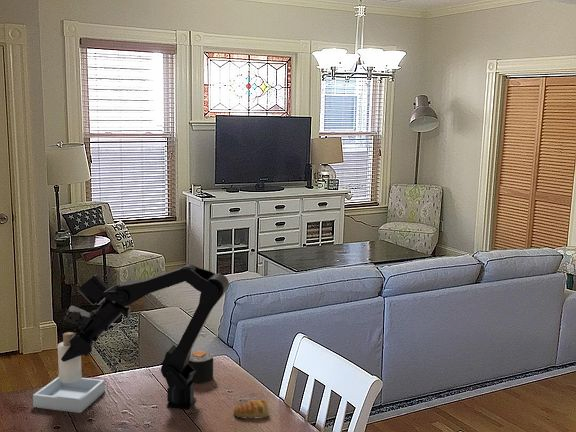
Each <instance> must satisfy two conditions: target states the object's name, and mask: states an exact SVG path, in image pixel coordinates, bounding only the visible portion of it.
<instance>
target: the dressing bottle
mask: <svg viewBox="0 0 576 432" xmlns="http://www.w3.org/2000/svg"><path fill="white" fill-rule="evenodd" d="M74 334H75V332H71V331H67V332H64V333H62V341H61V342H60V343H58V344H57V361H58V365H57V366H58V377H59V381H60V382H62V383H73V382H77V381H79V380H80V379H81V378H83V376H82V375H83V373H82V372H83V371H82V355H81V356H78V357H75V358H73V359H70V360H67V361H65V362H63V361H62V360H61V358H62V357H63V355H64V354H65V352H66V351H67V350H68V348H69V347H70V345H71V344H70V342H69V341H70V338H71V336H73V335H74Z"/></svg>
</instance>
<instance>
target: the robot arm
mask: <svg viewBox="0 0 576 432" xmlns="http://www.w3.org/2000/svg"><path fill="white" fill-rule="evenodd" d="M184 282H185V283H187V284H189V285H190V286H191V287H193V289H195V290H196V291H198V292H200V295H199V299H198V301H199V302H198V305H197V307H196V309H195V311H194V313H193V315H192V317H191V319H190V321H189V323H188V325H187V326H186V329H185V331H184V332H183V334H182V336H181V339H180V340H179V342H178V345H177V346H176V345H175V344H172V346H171V347H170V348H169V349H168V350H167V351H166V353H165V356H164V358H163V360H162V361H161V362H160V364H159V365H160V366H161V368H160V373H161V375H162V376H163V378H164V379H165V381H166V384H167V388H166V392H167V393H166V401H167V402H168V403H167V404H166V407H168V408H175V409H177V408H178V409H184V410H188V409H190V408H191V407H192V406H193V404H195V401H197V397H195V383H194V381H191V379H192V378H193V377H194V375H195V372H196V370H195V369H194V368H193V367H192V366H191V365H190V364H189V360H190V356H191V353H192V349H193V348H194V345H195V343H196V341H197V339H198V337H199V335H200V334H201V332H202V330H203V327H204V326H205V324H206V322H207V320H208V318H209V317H210V314H211V313H212V311H213V308H214V307H215V306H216V305H217V304H218V303H219V301H220V300H221V298H222V297H223V296H224V294H225V293H226V292H227V291H228V289H229V287H230V282H229V279H228V278H227V276H225V275H224V274H222V273H215V272H213V271H211V270H208V269H204V268H202V267H198V266H196V265H194V264H192V263H188V264H185V265H184V266H181V267H179V268H175V269H172V270H170V271H167V272H164V273H160V274H159V275H156V276H152V277H149V278H139V279H131V280H127V281H125V282H124V283H122V284H118V285H116V284H114V285H113V286H111V287H110V286H109V285H108V284H107V283H106V282H105V281H104V280H103V279H102V278H101V276H100V275H99V274H94V275H92V277H91V278H89V279H88V280H86V282H85V283H83V284H81V286H79V288H78V290H77V291H78V292H79V293H80V294H81V295H82V296H83V297H84V299H86V300H87V301H88V302H89V303H90V304H91V305H92V306H95V305H97V306H99V305H100V304H101V303H102V304H101V305H100V306H99V307H98V308H97V309H94V310H92V311H91V312H88V311H86V310H85V309H81V308H80V307H77V306H75V305H70V307H69V308H68V310H67V312H66V315H65V316H64V318H63V320H64V321H65V322H66V323H72V324H74V325H76V327H75V332H74V335H73V336H71V338H70V341H69V342H70V344H71V345H70V347H69V348H68V350H67V351H66V352H65V354H64V355H63V357H62V358H61V360H62V361H63V362H65V361H67V360H70V359H73V358H75V357H78V356H81V357H82V356H85V357H88V356H89V355H90V354H91V353H92V352H93V350H94V348H95V347H94V342H97V341H98V340H99V337H101V335H102V334H103V333H104V332H107V331H108V330H109V328H110V326H112V325H113V323H114V322H115V321H116V320H117V319H119V317H121V315H123V316H124V317H125V318H128V317H130V316H131V315H132V314H131V313H132V312H131V308H132V306H130V305H132V304H133V303H135V302H137V301H139V300H140V299H142V298H143V297H145V296H147V295H149V294H151V293H154V292H159V291H161V290H163V289H166V288H167V289H168V288H170V287H173V286H176V285H179V284H182V283H184Z"/></svg>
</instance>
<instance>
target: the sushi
mask: <svg viewBox="0 0 576 432" xmlns="http://www.w3.org/2000/svg"><path fill="white" fill-rule="evenodd" d="M189 364H190V365H191V366H192V367H193V368H194V369H195V370H196V372H195V375H194V377H193V378H192V379H191V381H194V384H205V383H208V382H210V381H212V380H213V379H214V353H211V352H210V351H209V350H208V351H206V350H194V351H191V356H190V360H189Z"/></svg>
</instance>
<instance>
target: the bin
mask: <svg viewBox="0 0 576 432" xmlns="http://www.w3.org/2000/svg"><path fill="white" fill-rule="evenodd" d="M105 380H106V379H99V378H98V379H97V378H89V377H82V378H81V379H80V380H79V381H77V382H73V383H62V382H60V381H59V376H57V377H56V378H55V379H52V380H51V381H50V382H49V383H48V384H46V385H45V386H44V387H41V388H40V389H39V390H38V391H37V392H35V393H34V394H32V402H33V403H32V404H33V405H32V406H33V408H36V407H37V409H38V408H39V409H45V410H46V409H47V410H54V411H62V412H68V413H69V412H70V413H78V414H81V413H82V412H83V411H85V410H86V409H87V408H88V407H89V406H91V404H92V403H93V402H95V401H96V400H97V399H99V398H100V396H102V395H103V394H104V393H105V392H106V381H105Z"/></svg>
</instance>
